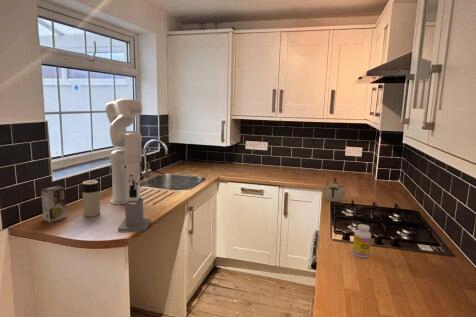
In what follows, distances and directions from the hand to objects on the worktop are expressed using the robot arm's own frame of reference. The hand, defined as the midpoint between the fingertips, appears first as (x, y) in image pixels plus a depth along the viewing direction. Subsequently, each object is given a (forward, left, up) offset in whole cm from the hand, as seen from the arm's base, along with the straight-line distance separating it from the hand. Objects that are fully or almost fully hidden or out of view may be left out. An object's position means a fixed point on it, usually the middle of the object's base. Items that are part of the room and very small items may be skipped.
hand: (134, 195), depth 154 cm
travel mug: (-17, -26, -16) cm, 35 cm away
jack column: (0, 0, -14) cm, 14 cm away
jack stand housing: (0, 0, -16) cm, 16 cm away
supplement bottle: (+34, +101, -16) cm, 107 cm away
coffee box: (-11, -42, -16) cm, 46 cm away
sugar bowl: (-41, +120, -16) cm, 128 cm away
